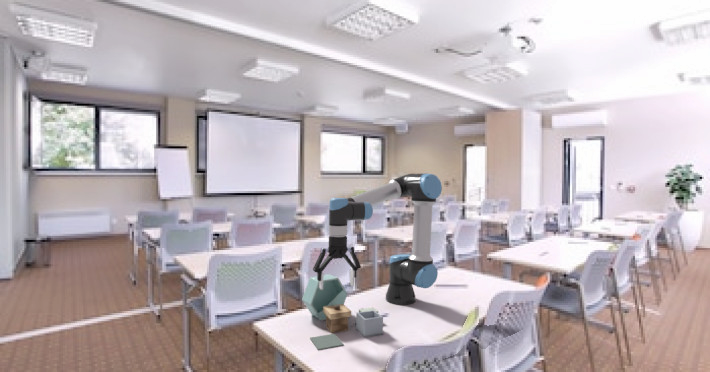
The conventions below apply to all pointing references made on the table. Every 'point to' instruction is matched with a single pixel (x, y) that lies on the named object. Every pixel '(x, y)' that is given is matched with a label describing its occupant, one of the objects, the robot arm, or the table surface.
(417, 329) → the table surface
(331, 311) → the lid
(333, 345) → the felt mat
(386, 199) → the robot arm
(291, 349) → the table surface
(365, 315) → the blue-grey box
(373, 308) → the pale green block
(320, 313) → the planter
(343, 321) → the walnut box
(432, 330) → the table surface
